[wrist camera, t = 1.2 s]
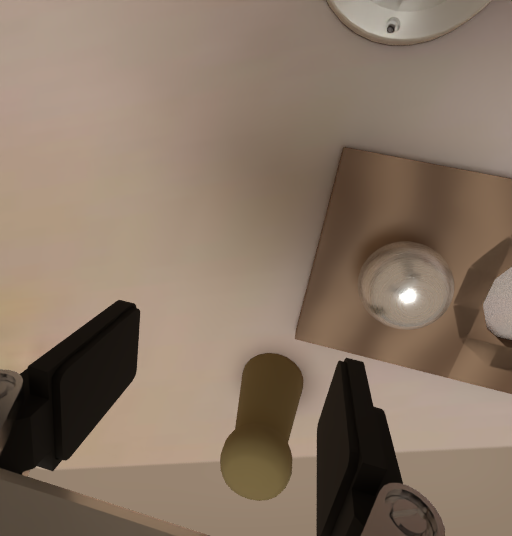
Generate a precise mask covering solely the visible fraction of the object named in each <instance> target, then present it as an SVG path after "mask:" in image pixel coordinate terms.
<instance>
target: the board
mask: <svg viewBox="0 0 512 536" xmlns="http://www.w3.org/2000/svg"><path fill="white" fill-rule="evenodd" d="M402 241H408V242H416V243H420V244H423V245H425V246H428V247H430V248H431V249H433V250H435V251H436V252H437V253H439V254H440V255H441V256H442V257H443V258H444V260H445V261H446V262H447V264H448V265H449V267H450V269H451V272H452V274H453V278H454V295H453V298H452V301H451V304H450V306H449V307H448V309H447V310H446V312H445V313H444V314H443V315H442V316H441V317H440V318H439V319H438V320H436V321H435V322H433V323H431V324H429V325H427V326H425V327H422V328H418V329H411V330H404V329H397V328H392V327H389V326H387V325H384V324H383V323H381V322H379V321H378V320H376V319H375V318H374V317H372V316H371V315H370V313H369V312H368V311H367V310H366V309H365V307H364V305H363V304H362V302H361V299H360V296H359V292H358V277H359V273H360V270H361V268H362V266H363V264H364V262H365V261H366V259H367V258H368V257H369V256H370V255H371V254H372V253H373V252H375V251H376V250H377V249H379V248H381V247H383V246H385V245H387V244H390V243H395V242H402ZM510 267H512V179H509V178H504V177H498V176H493V175H488V174H483V173H477V172H472V171H467V170H462V169H456V168H451V167H446V166H441V165H435V164H430V163H425V162H420V161H415V160H409V159H404V158H399V157H394V156H388V155H383V154H378V153H373V152H367V151H362V150H357V149H352V148H346V147H344V148H343V151H342V155H341V159H340V162H339V166H338V170H337V174H336V178H335V182H334V186H333V189H332V193H331V197H330V201H329V205H328V209H327V213H326V216H325V220H324V224H323V228H322V232H321V236H320V240H319V243H318V247H317V251H316V255H315V259H314V263H313V267H312V270H311V274H310V278H309V282H308V286H307V290H306V294H305V297H304V301H303V305H302V309H301V313H300V317H299V321H298V324H297V328H296V334H295V339H297V340H301V341H305V342H309V343H313V344H317V345H321V346H325V347H329V348H333V349H337V350H340V351H344V352H348V353H352V354H356V355H360V356H364V357H368V358H372V359H376V360H380V361H384V362H388V363H392V364H396V365H399V366H403V367H407V368H411V369H415V370H419V371H423V372H427V373H431V374H435V375H439V376H443V377H447V378H451V379H454V380H458V381H462V382H466V383H470V384H474V385H478V386H482V387H486V388H490V389H494V390H498V391H502V392H506V393H510V394H512V340H508V339H504V338H500V337H496V336H495V335H494V334H493V333H492V332H491V331H490V330H488V329H487V327H486V321H485V315H484V310H483V303H484V301H485V299H486V297H487V294H488V292H489V290H490V288H491V286H492V284H493V282H494V280H495V279H496V278H497V277H498V276H500V275H501V274H502V273H504V272H505V271H506V270H508V269H509V268H510Z"/></svg>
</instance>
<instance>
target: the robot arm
mask: <svg viewBox="0 0 512 536" xmlns="http://www.w3.org/2000/svg"><path fill="white" fill-rule="evenodd" d="M490 1H492V0H327V2H328V4H329V6H330V8H331V9H332V10H333V12H334V13H335V14H336V15H337V16H338V18H339V19H340V20H341V21H342V23H344V24H345V25H346V26H347V27H349V28H350V29H351V30H353V31H354V32H355V33H356V34H358V35H360V36H362V37H365V38H367V39H369V40H371V41H373V42H378V43H383V44H387V45H412V44H417V43H422V42H426V41H430V40H433V39H435V38H438V37H440V36H442V35H445V34H447V33H450V32H451V31H453V30H454V29H456V28H457V27H459V26H461V25H462V24H464V23H465V22H467V21H469V20H470V19H471V18H472V17H473V16H475V15H476V14H477V13H478V12H479V11H481V10H482V9H483V8H484V7H485V6H486V5H487V4H488V3H489V2H490ZM389 26H392V27H393V28H394V32H393V33H388V32H387V27H389ZM139 323H140V310H139V309H137V308H136V305H135V304H134V303H130V302H126V301H122V300H118V301H116V302H115V303H114V304H112V305H111V306H109V307H108V308H107V309H105V310H104V311H103V312H101V313H100V314H99V315H97V316H96V317H94V318H93V319H92V320H90V321H89V322H88V323H86V324H85V325H84V326H82V327H81V328H80V329H78V330H77V331H75V332H74V333H73V334H71V335H70V336H69V337H67V338H66V339H65V340H63V341H62V342H60V343H59V344H58V345H56V346H55V347H54V348H52V349H51V350H50V351H48V352H47V353H45V354H44V355H43V356H41V357H40V358H39V359H37V360H36V361H35V362H33V363H32V364H30V365H29V366H28V369H26V370H25V371H24V372H22V373H21V374H18V373H17V372H14V371H11V370H0V536H209V535H206V534H203V533H200V532H197V531H194V530H190V529H188V528H185V527H182V526H178V525H176V524H173V523H169V522H166V521H163V520H160V519H157V518H154V517H151V516H148V515H145V514H142V513H139V512H136V511H133V510H130V509H126V508H123V507H120V506H117V505H114V504H111V503H108V502H105V501H102V500H99V499H95V498H93V497H89V496H86V495H83V494H80V493H77V492H74V491H71V490H68V489H64V488H61V487H58V486H55V485H51V484H48V483H46V482H42V481H39V480H36V479H33V478H30V477H28V475H29V472H30V469H33V468H35V467H36V466H39V467H42V468H45V469H48V470H51V471H53V470H54V469H55V468H56V467H57V466H58V464H59V463H60V462H61V461H62V460H67V459H69V458H70V457H71V456H72V454H73V453H74V452H75V451H76V449H77V448H78V447H79V446H80V445H81V443H82V442H83V441H84V440H85V438H86V437H87V436H88V435H89V433H90V432H91V431H92V430H93V429H94V427H95V426H96V425H97V424H98V422H99V421H100V420H101V419H102V418H103V416H104V415H105V414H106V413H107V411H108V410H109V409H110V408H111V407H112V405H113V404H114V403H115V402H116V400H117V399H118V398H119V397H120V395H121V394H122V393H123V392H124V391H125V389H126V388H127V387H128V386H129V384H130V383H131V382H132V381H133V379H134V377H135V375H136V370H137V355H138V339H139ZM317 536H445V528H444V525H443V522H442V519H441V517H440V515H439V513H438V512H437V510H436V509H435V507H434V506H433V505H432V504H431V503H430V501H429V500H428V499H427V498H426V497H424V496H423V495H422V494H421V493H419V492H418V491H417V490H415V489H413V488H411V487H409V486H407V485H404V484H403V482H402V478H401V474H400V470H399V467H398V463H397V459H396V455H395V451H394V447H393V443H392V439H391V435H390V431H389V428H388V424H387V420H386V416H385V413H384V411H383V410H382V409H380V408H376V407H373V403H372V398H371V394H370V389H369V384H368V380H367V375H366V371H365V366H364V363H363V362H361V361H357V360H353V359H349V358H346V359H345V360H344V362H343V361H338V364H337V366H336V370H335V373H334V376H333V379H332V382H331V385H330V388H329V391H328V394H327V397H326V400H325V404H324V407H323V410H322V413H321V416H320V419H319V422H318V428H317Z"/></svg>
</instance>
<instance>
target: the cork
mask: <svg viewBox="0 0 512 536" xmlns="http://www.w3.org/2000/svg"><path fill="white" fill-rule="evenodd" d="M302 389H303V376H302V373H301V371H300V369H299V368H298V367H297V365H296V364H295V363H294V362H292V361H291V360H290V359H288V358H287V357H284V356H282V355H279V354H272V353H266V354H261V355H257V356H256V357H254V358H252V359H251V360H250V361H249V362H248V363H247V364H246V365H245V368H244V371H243V375H242V382H241V390H240V397H239V405H238V412H237V420H236V427H235V430H234V431H233V432H232V433H231V434H230V435H229V437H228V438H227V440H226V441H225V444H224V447H223V450H222V453H221V459H220V464H221V472H222V475H223V478H224V480H225V482H226V484H227V485H228V486H229V487H230V488H231V490H233V491H234V492H235V493H237V494H238V495H240V496H242V497H245V498H247V499H251V500H259V501H260V500H269V499H272V498H274V497H276V496H277V495H278V494H280V493H281V492H282V491H283V490H284V489H285V488H286V486H287V484H288V481H289V479H290V476H291V474H292V455H291V450H290V448H289V445H288V440H289V437H290V433H291V429H292V426H293V422H294V418H295V414H296V411H297V407H298V403H299V400H300V396H301V392H302Z"/></svg>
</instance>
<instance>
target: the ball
mask: <svg viewBox="0 0 512 536" xmlns="http://www.w3.org/2000/svg"><path fill="white" fill-rule="evenodd" d="M358 292H359V296H360V299H361V302H362V304H363V305H364V307H365V309H366V310H367V311H368V312H369V313H370V315H371V316H372V317H374V318H375V319H376V320H378V321H379V322H381V323H383V324H384V325H387V326H389V327H392V328H397V329H404V330H411V329H418V328H422V327H425V326H427V325H429V324H431V323H433V322H435V321H436V320H438V319H439V318H440V317H441V316H442V315H443V314H444V313H445V312H446V310H447V309H448V307H449V306H450V304H451V301H452V298H453V295H454V278H453V274H452V272H451V269H450V267H449V265H448V264H447V262H446V261H445V260H444V258H443V257H442V256H441V255H440V254H439V253H437V252H436V251H435V250H433V249H431V248H430V247H428V246H425V245H423V244H420V243H416V242H408V241H402V242H395V243H390V244H387V245H385V246H383V247H381V248H379V249H377V250H376V251H375V252H373V253H372V254H371V255H370V256H369V257H368V258H367V259H366V261H365V262H364V264H363V266H362V268H361V270H360V273H359V277H358Z"/></svg>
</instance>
